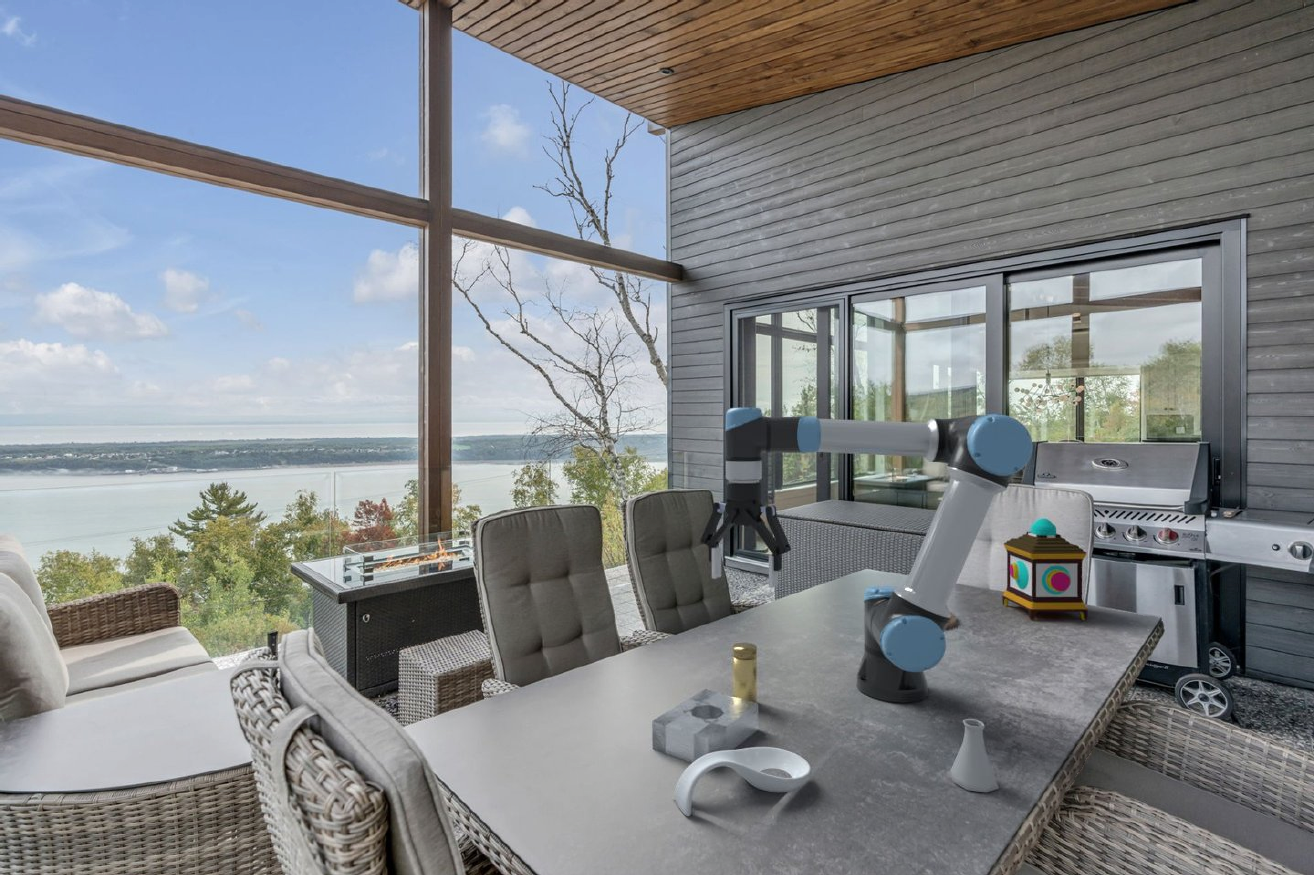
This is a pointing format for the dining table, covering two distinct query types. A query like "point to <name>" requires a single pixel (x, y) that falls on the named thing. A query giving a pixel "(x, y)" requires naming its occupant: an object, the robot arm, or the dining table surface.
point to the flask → (973, 761)
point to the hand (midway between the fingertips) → (744, 581)
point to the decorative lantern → (1044, 572)
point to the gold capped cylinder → (745, 671)
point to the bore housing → (704, 725)
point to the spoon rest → (745, 771)
